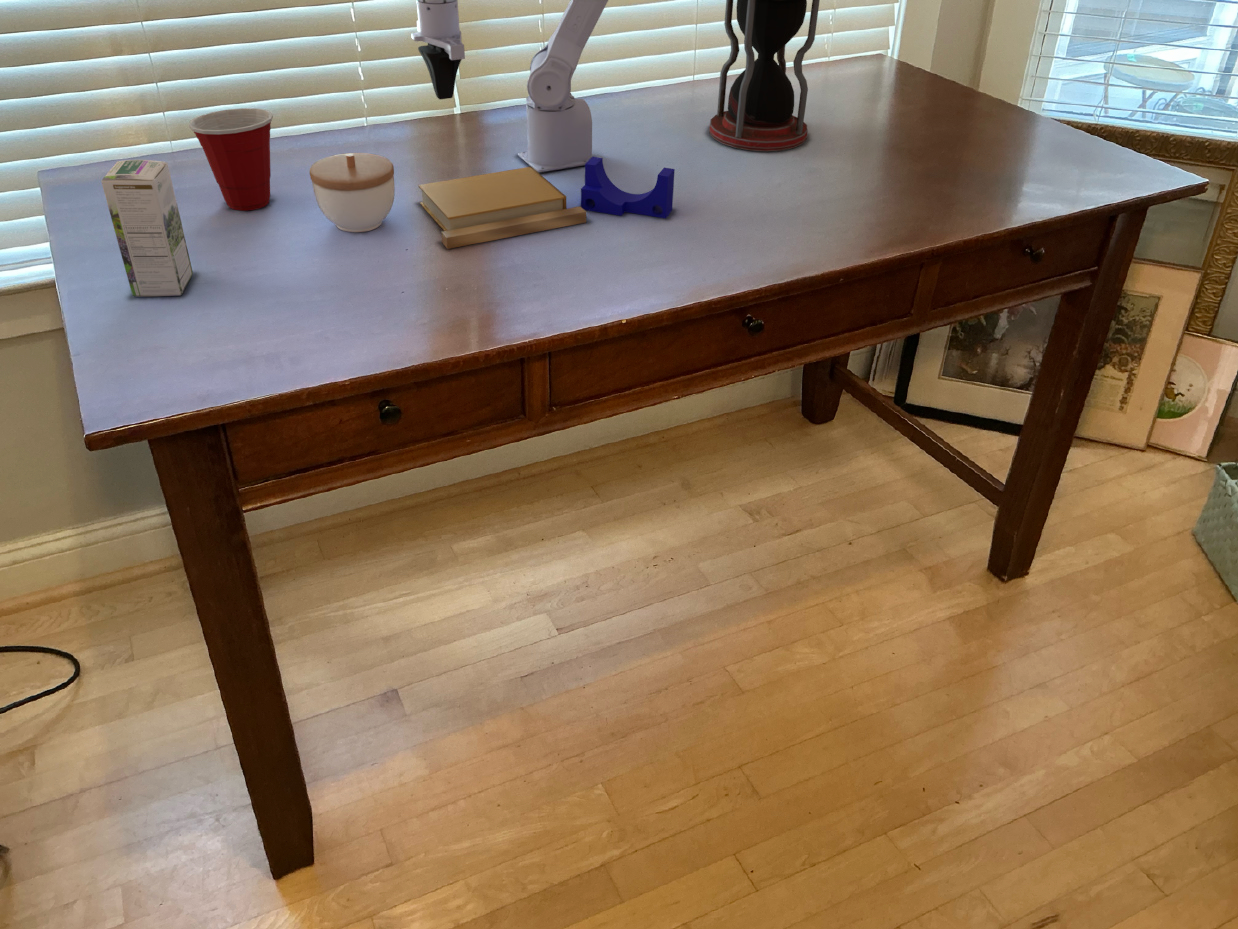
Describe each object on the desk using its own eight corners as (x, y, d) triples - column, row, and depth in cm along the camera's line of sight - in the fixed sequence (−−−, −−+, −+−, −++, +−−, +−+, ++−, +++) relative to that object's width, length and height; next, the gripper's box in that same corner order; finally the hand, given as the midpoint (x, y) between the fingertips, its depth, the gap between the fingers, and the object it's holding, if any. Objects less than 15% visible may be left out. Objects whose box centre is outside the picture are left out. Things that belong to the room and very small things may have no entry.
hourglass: (822, 130, 172) (846, -32, 156) (780, 159, 161) (801, -13, 145) (736, 111, 178) (751, -46, 163) (691, 138, 167) (702, -29, 152)
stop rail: (580, 216, 142) (580, 205, 141) (586, 222, 140) (586, 211, 139) (442, 242, 134) (441, 231, 133) (447, 249, 133) (446, 237, 132)
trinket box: (381, 243, 133) (372, 174, 128) (304, 234, 135) (292, 165, 129) (411, 211, 142) (404, 144, 136) (338, 203, 143) (328, 136, 138)
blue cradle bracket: (580, 209, 144) (581, 167, 140) (592, 197, 147) (592, 156, 144) (662, 222, 141) (664, 180, 137) (672, 210, 144) (674, 168, 141)
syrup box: (146, 275, 125) (113, 159, 116) (195, 274, 125) (167, 158, 117) (132, 297, 120) (97, 178, 112) (184, 296, 121) (153, 178, 112)
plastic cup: (263, 181, 149) (247, 97, 142) (303, 203, 143) (288, 117, 136) (192, 200, 143) (172, 114, 136) (230, 225, 137) (211, 136, 129)
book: (531, 184, 150) (531, 166, 149) (566, 215, 142) (566, 196, 140) (420, 204, 144) (418, 184, 142) (449, 237, 135) (448, 217, 134)
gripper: (393, -11, 147) (403, 86, 155) (426, 14, 137) (435, 115, 145) (440, -15, 150) (447, 80, 158) (476, 9, 140) (481, 109, 148)
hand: (444, 97), depth 152 cm, fingers closed
